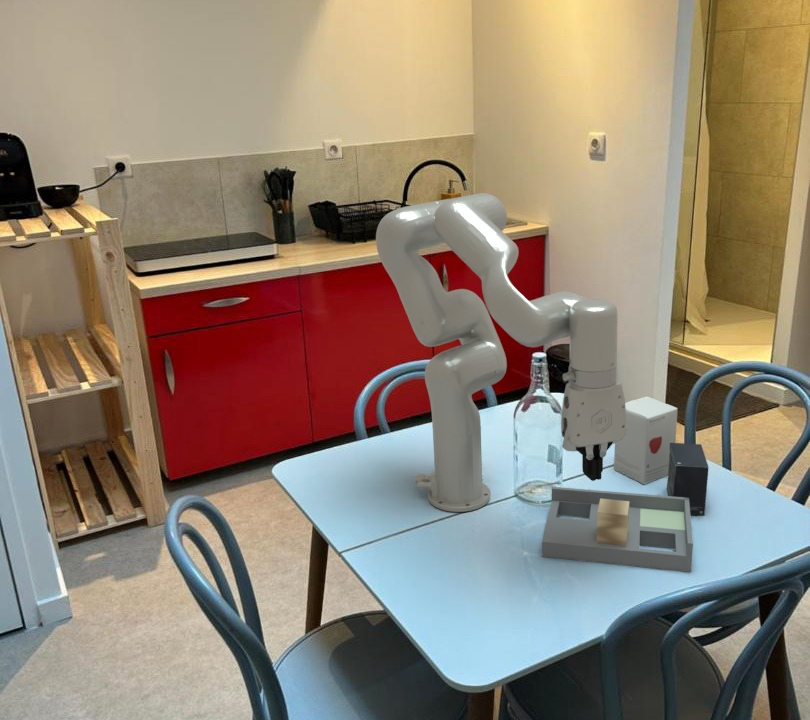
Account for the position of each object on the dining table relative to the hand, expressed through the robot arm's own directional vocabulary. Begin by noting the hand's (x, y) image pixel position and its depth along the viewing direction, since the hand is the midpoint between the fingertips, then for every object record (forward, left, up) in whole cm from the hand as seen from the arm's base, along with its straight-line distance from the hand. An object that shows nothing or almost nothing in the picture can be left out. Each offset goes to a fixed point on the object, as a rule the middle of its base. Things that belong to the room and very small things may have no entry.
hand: (592, 476), depth 140 cm
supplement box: (+9, +35, -16) cm, 39 cm away
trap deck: (+4, +6, -16) cm, 17 cm away
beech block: (+4, +2, -13) cm, 13 cm away
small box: (+17, +23, -16) cm, 32 cm away
